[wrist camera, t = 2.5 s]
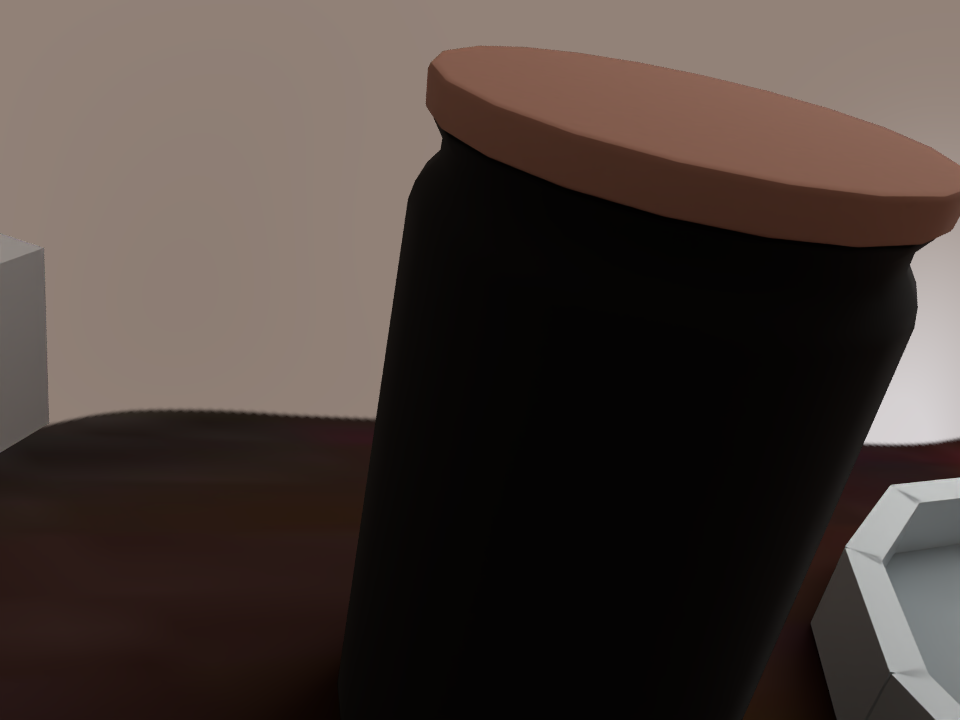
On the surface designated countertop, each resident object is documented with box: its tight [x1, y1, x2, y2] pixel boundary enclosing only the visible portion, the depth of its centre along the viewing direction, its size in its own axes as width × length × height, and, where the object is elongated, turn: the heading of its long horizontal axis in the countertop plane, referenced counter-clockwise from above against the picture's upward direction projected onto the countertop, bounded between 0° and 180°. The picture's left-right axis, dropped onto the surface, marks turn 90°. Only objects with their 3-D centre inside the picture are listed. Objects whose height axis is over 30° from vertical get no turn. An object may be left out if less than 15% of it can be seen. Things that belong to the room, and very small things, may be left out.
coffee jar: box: [338, 46, 960, 720], centre depth 22 cm, size 11×11×18 cm
